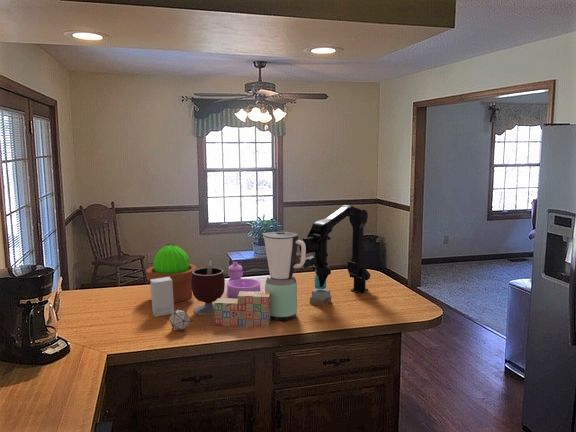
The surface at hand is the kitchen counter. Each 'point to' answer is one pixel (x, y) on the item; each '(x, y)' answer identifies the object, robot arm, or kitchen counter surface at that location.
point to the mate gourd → (207, 288)
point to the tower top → (321, 293)
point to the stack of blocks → (244, 310)
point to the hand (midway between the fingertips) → (320, 285)
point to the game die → (179, 319)
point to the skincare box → (162, 296)
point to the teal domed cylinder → (318, 283)
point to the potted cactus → (173, 270)
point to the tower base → (320, 301)
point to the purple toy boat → (239, 282)
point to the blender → (282, 272)
